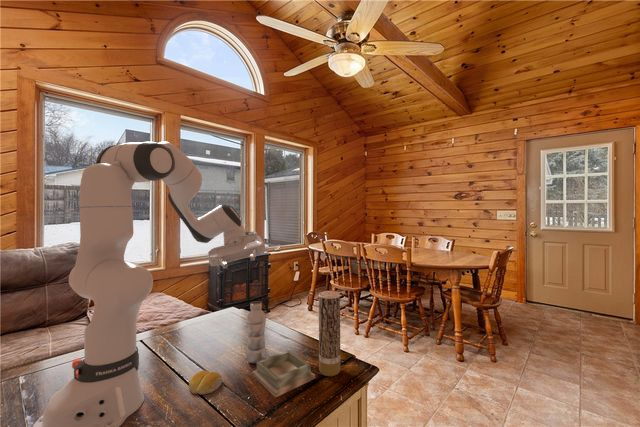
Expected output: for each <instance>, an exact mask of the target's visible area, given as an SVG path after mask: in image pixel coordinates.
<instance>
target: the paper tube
mask: <svg viewBox="0 0 640 427" xmlns="http://www.w3.org/2000/svg"><path fill="white" fill-rule="evenodd" d="M318 362H319V363H318V368H319V372H320V374H321V375H323V376H325V377H334V376H335V377H336V376H337V375H339V373H340V372H341V293H340V292H339V291H334V290H323V291H320V292H319V293H318Z"/></svg>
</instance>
